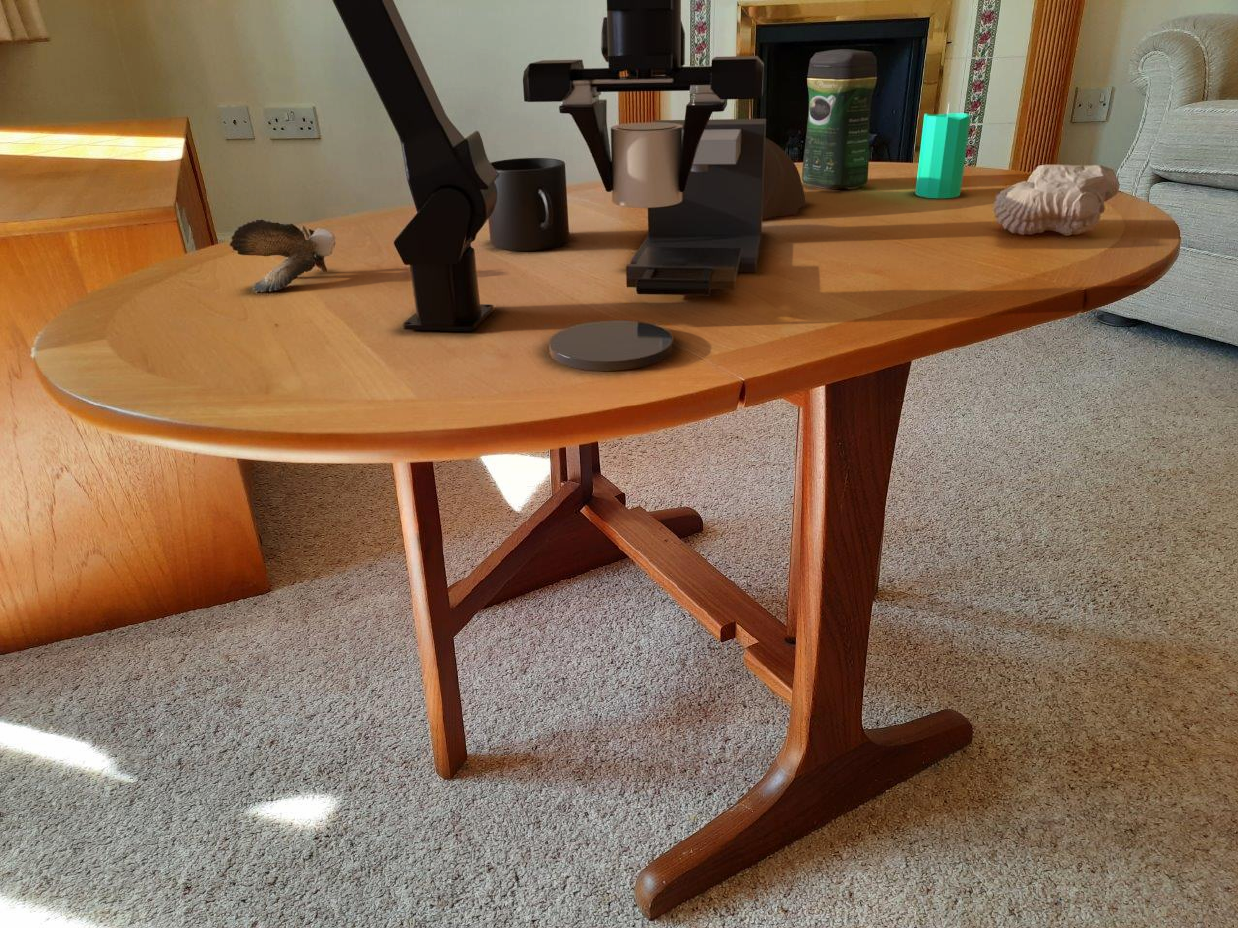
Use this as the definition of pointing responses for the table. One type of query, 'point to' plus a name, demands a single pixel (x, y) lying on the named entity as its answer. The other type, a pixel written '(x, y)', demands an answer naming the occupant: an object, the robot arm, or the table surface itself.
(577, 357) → the coaster
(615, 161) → the white cup
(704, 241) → the coffee machine
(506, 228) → the mug
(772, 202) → the decorative dome
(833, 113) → the coffee jar
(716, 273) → the tray
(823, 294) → the table surface
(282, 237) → the eagle figurine
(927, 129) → the candle
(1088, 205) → the fossil replica
